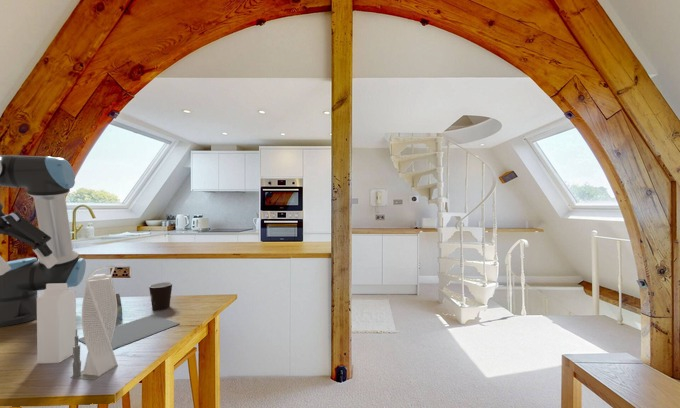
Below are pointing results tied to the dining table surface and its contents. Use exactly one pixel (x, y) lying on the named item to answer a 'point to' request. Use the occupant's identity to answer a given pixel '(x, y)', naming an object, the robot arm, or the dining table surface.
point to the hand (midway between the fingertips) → (29, 268)
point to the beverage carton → (119, 308)
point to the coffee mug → (160, 295)
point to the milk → (56, 323)
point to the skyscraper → (97, 327)
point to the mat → (138, 330)
